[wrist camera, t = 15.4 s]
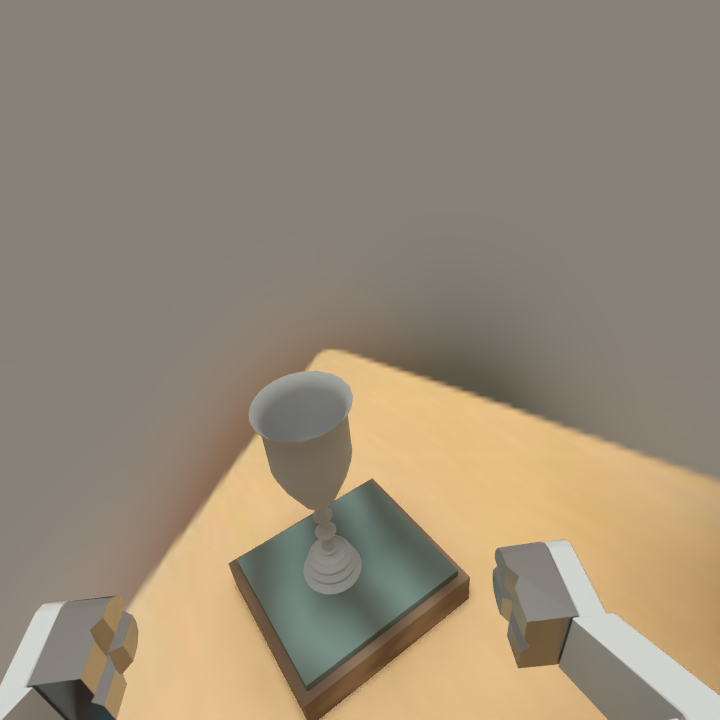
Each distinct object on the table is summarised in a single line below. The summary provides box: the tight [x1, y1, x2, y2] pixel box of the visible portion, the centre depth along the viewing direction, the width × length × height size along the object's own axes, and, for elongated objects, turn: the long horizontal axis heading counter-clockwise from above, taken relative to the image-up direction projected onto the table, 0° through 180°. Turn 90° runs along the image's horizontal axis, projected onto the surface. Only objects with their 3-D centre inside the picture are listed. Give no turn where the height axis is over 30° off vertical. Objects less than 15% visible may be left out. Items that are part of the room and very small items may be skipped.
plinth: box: [229, 479, 470, 720], centre depth 43 cm, size 16×14×4 cm
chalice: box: [249, 371, 362, 594], centre depth 37 cm, size 7×7×18 cm
